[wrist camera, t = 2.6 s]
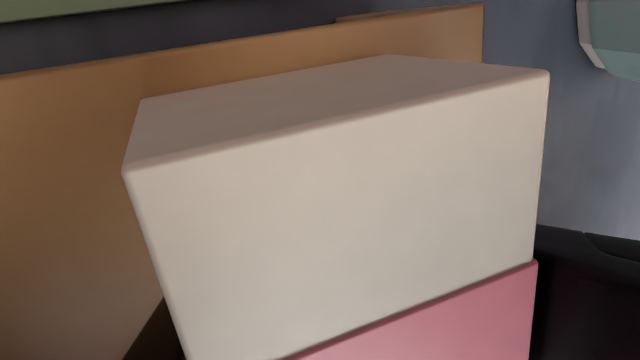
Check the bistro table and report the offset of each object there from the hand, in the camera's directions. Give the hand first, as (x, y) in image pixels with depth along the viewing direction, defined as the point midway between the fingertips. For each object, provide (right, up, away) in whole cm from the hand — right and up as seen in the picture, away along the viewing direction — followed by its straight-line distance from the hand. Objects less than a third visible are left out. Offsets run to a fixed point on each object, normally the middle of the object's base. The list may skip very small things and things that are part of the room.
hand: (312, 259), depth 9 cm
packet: (0, 0, 0) cm, 0 cm away
